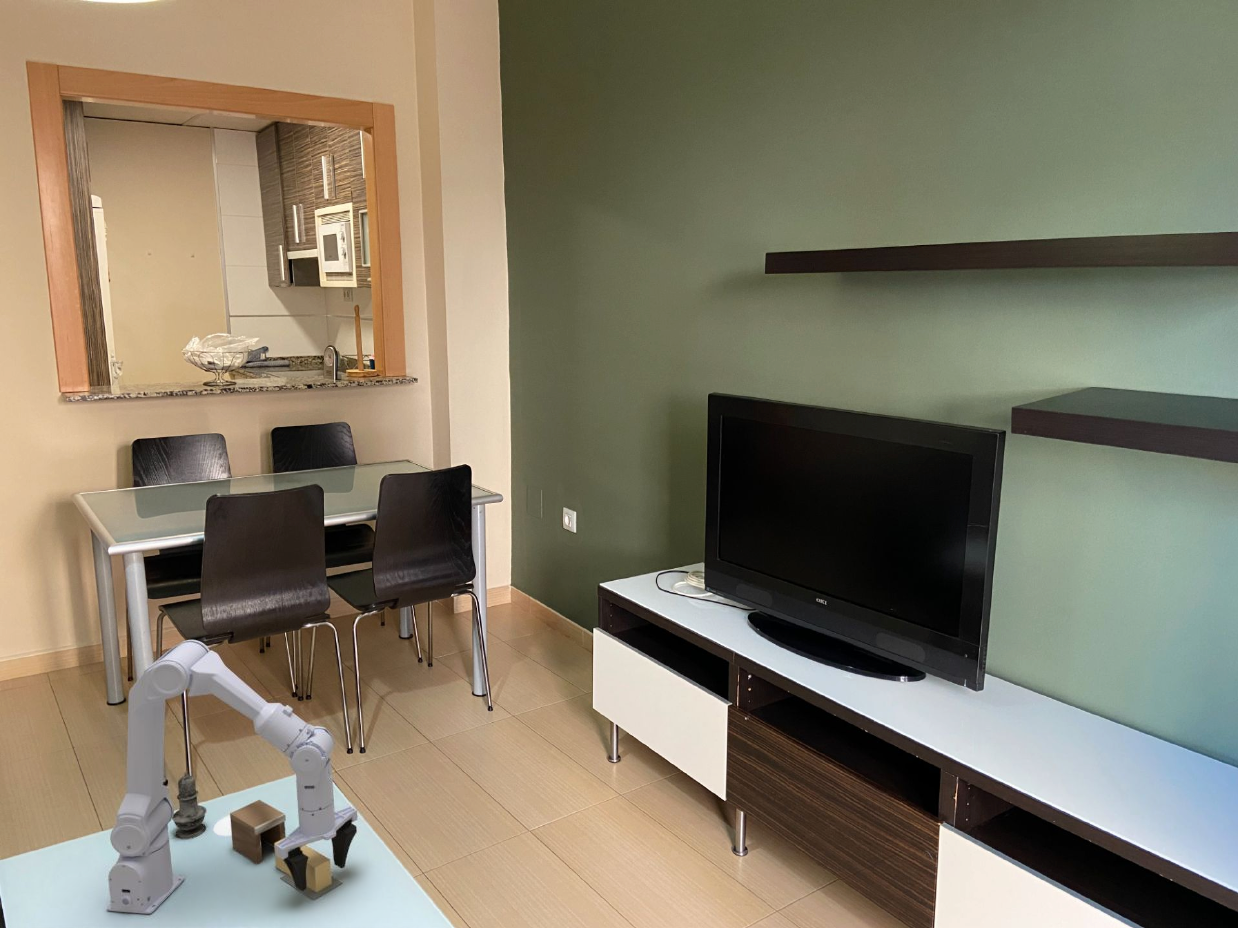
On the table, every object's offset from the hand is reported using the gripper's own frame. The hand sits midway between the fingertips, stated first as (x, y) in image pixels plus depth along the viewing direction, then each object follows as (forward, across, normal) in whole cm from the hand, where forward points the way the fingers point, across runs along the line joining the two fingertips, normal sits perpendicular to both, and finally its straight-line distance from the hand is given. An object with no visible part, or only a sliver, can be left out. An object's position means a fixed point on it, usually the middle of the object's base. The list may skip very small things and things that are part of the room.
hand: (320, 876), depth 152 cm
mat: (+2, 0, +3) cm, 4 cm away
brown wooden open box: (+2, 0, +19) cm, 19 cm away
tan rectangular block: (+2, 0, +5) cm, 6 cm away
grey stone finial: (+2, -4, +35) cm, 35 cm away
